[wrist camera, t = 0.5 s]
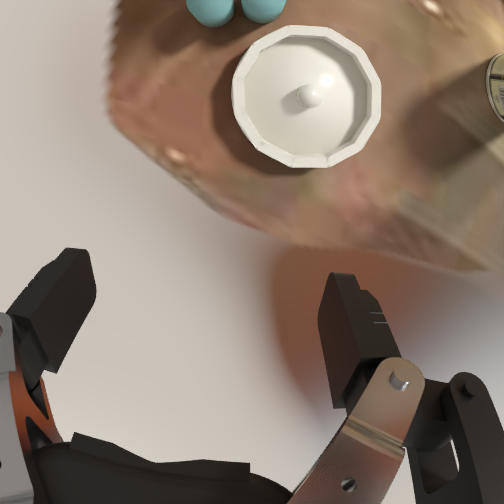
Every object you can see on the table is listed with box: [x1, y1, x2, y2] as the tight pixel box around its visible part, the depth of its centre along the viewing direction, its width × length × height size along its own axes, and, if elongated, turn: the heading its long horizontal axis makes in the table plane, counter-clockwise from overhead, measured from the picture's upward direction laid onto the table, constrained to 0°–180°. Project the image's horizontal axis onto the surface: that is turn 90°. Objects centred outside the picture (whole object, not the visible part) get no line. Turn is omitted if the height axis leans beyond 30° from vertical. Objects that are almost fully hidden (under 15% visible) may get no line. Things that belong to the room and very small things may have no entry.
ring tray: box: [231, 25, 381, 168], centre depth 27 cm, size 15×15×2 cm
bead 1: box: [186, 0, 235, 27], centre depth 22 cm, size 4×4×4 cm
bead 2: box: [241, 0, 286, 24], centre depth 22 cm, size 4×4×4 cm
